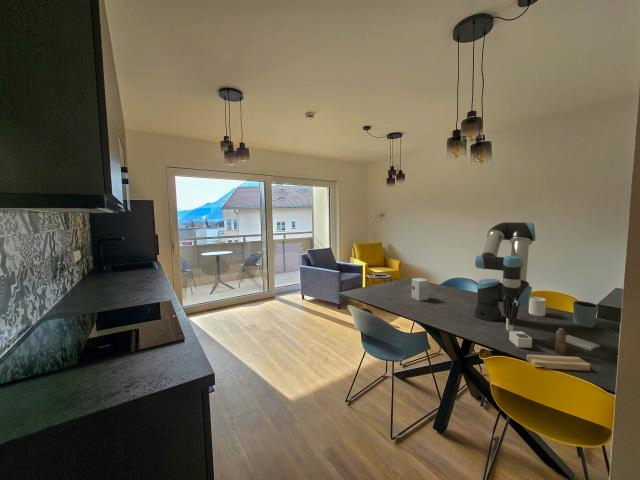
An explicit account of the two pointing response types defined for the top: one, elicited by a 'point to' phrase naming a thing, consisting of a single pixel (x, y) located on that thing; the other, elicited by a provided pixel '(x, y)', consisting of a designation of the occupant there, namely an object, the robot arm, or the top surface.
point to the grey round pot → (584, 313)
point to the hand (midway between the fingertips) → (509, 329)
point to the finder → (520, 339)
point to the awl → (560, 341)
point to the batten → (559, 362)
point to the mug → (537, 306)
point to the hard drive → (581, 343)
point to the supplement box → (420, 289)
